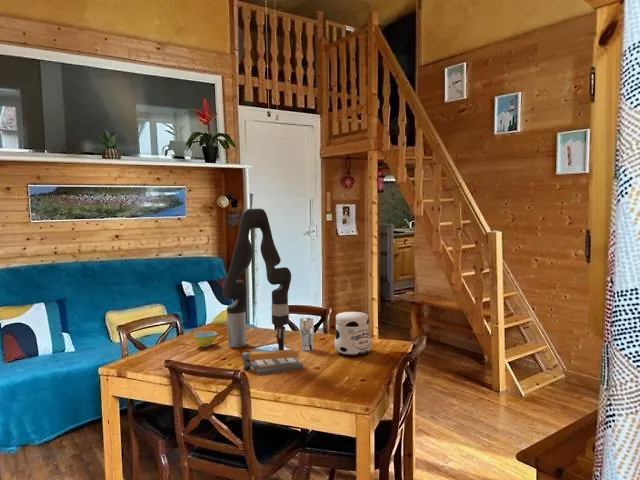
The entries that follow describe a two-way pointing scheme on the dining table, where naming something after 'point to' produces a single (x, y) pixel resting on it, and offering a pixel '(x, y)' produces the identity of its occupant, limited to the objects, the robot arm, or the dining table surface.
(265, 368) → the label board
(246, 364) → the post
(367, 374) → the dining table surface
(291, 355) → the swing bar
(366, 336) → the milk container
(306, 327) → the beer glass
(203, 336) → the bowl
